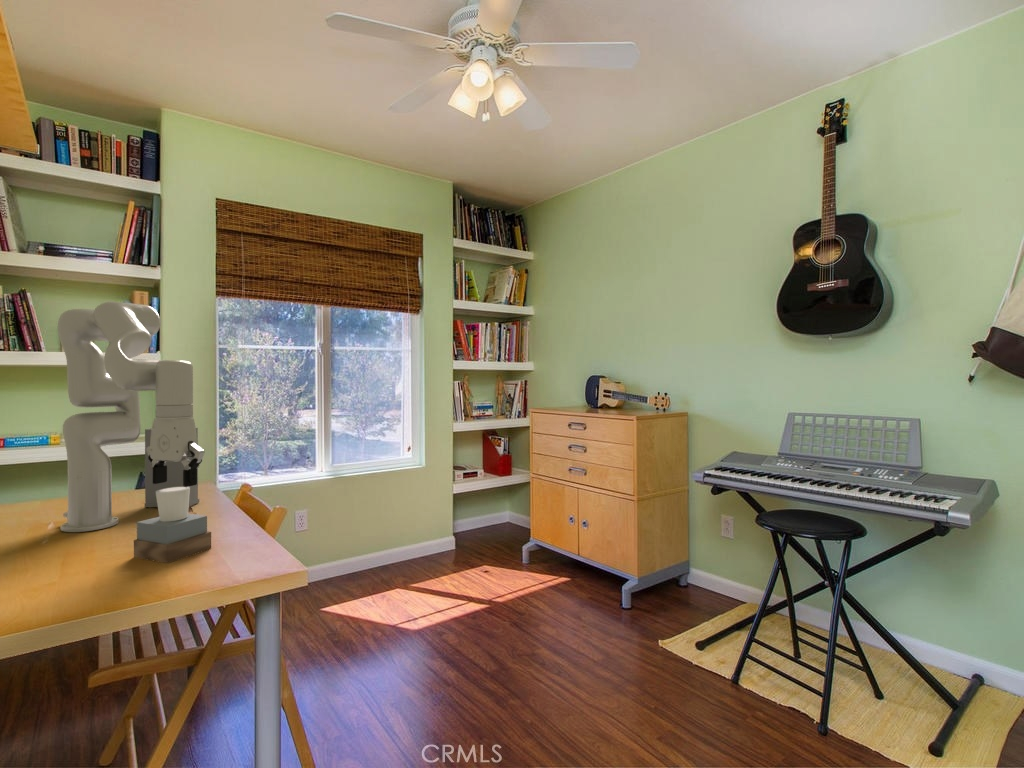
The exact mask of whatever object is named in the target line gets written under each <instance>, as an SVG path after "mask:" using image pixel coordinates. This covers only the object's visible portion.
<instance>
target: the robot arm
mask: <svg viewBox="0 0 1024 768" xmlns="http://www.w3.org/2000/svg"><path fill="white" fill-rule="evenodd" d="M160 328H161V317H160V315H159V313H158V312H157V310H156V309H155V308H154V307H152V306H150V305H147V304H139V303H130V302H121V301H106V302H103V303H100V304H98V305H97V306H95V308H94V309H91V308H71V309H68V310H65V311H64V312H62V313H61V314H60V316H59V317H58V321H57V336H58V339H59V342H60V345H61V347H62V349H63V352H64V355H65V360H66V375H67V377H66V378H67V393H68V399H69V402H70V403H71V405H73V407H74V406H75V407H77V408H85V409H86V408H90V409H91V408H111V407H112V408H115V411H95V412H82V413H81V412H80V413H76V414H73V415H70V416H69V417H67V418H66V419H65V420H64V421H63V425H62V435H63V440H64V444H65V449H66V458H67V463H66V464H67V510H66V512H64V513H63V515H62V516H63V518H67V520H66V522H65V523H63V524H61V525H60V531H61V532H64V533H82V532H92V531H97V530H102V529H106V528H110V527H111V528H112V527H113V526H116V525H118V524H119V523H120V522H119V520H120V519H119V517H117V516H113V501H112V500H113V498H112V497H113V496H112V495H113V490H112V489H113V488H112V486H113V485H112V484H113V483H112V482H113V481H112V480H113V479H112V478H113V474H112V461H111V458H110V457H109V455H108V454H107V453H106V452H105V451H104V450H103V449H102V447H104V446H105V447H106V446H116V445H125V444H130V443H133V442H135V441H137V440H138V439H139V437H140V434H141V427H142V426H141V406H140V405H141V404H140V391H141V392H142V391H155V417H154V418H153V420H152V426H151V428H152V430H151V439H150V446H148V447H147V448H146V451H147V454H148V459H149V460H150V462H151V467H153V484H158V483H163V482H166V481H167V465H165V463H166V462H167V461H170V462H178V461H181V462H182V464H183V465H184V467H185V469H186V470H183V486H184V487H189V486H193V485H197V468H198V469H199V468H200V465H201V463H202V462H203V458H204V455H205V450H204V449H203V448H202V447H201V446H199V445H198V446H197V435H196V428H197V427H196V422H195V418H194V366H193V364H192V363H191V362H190V361H188V360H179V359H178V360H177V359H176V360H171V359H151V358H150V359H142V358H135V357H138V356H140V355H142V354H144V353H145V352H147V350H149V348H150V347H151V344H152V337H153V336H155V335H156V334H157V333H158V332H159V330H160ZM92 341H94V342H95V341H97V342H108V343H109V344H108V346H107V348H106V349H105V352H103V351H102V350H101V349H100V347H98V346H97V345H96V344H95V343H94V342H92ZM188 461H191V462H190V463H189V462H188Z"/></svg>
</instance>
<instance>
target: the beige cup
mask: <svg viewBox="0 0 1024 768" xmlns="http://www.w3.org/2000/svg"><path fill="white" fill-rule="evenodd" d="M189 494H190V487H184V486H178V487H169V488H164V489H160V490H157V491H156V498H157V505H158V507H157V509H158V517H159V518H160V521H163V522H169V521H177V520H181V519H185V518H187V517H188V510H189Z"/></svg>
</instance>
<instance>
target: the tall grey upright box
mask: <svg viewBox="0 0 1024 768" xmlns="http://www.w3.org/2000/svg"><path fill="white" fill-rule="evenodd" d="M151 430H152V427H151V428H146V429H144V455H145V456H144V478H145V479H144V480H145V481H144V482H145V483H144V490H145V491H144V493H145V494H144V495H145V497H144V498H145V499H144V500H145V501H144V502H145V503H144V508H146V507H149V508H158V505H157V498H156V491H157V490H160V489H164V488H169V487H178V486H183V470H186V469H185V467H184V465H183V464H182V462H181V461H178V462H170V461H167V462H166V463H165V465H167V481H166V482H163V483H158V484H153V467H151V462H150V460H149V459H148V454H147V451H146V448H147V447H148V446H150V439H151ZM198 434H199V432H198V427H196V435H197V446H199V444H198V443H199V442H198V441H199V440H198V439H199V438H198V437H199V436H198ZM188 462H189V463H190V462H191V461H188ZM198 473H199V468H197V485H193V486H189V487H190V494H189V505H190V507H192V506H194V505H197V504H200V498H199V479H198V478H199V474H198Z"/></svg>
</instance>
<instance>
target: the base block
mask: <svg viewBox="0 0 1024 768" xmlns="http://www.w3.org/2000/svg"><path fill="white" fill-rule="evenodd" d="M209 548H211V549H212V531H209V530H207V533H203V534H200V535H197V536H193V537H190V538H187V539H183V540H180V541H177V542H174V543H170V544H161V543H155V542H149V541H143V540H138V539H137V538H136V539H134V540H133V558H134V557H136V558H135V559H140V558H141V559H142V560H146V559H148V560H147V561H152V560H154V561H153V562H157V561H159V562H158V563H163V562H165V564H170V563H173V562H176V561H179V560H182V559H185V558H187V557H186V556H188V557H190V555H191V556H194V555H196V554H199V553H202V552H204V550H205V551H207V549H208V550H210V549H209ZM201 551H202V552H201ZM198 552H199V553H198ZM195 553H196V554H195ZM193 554H194V555H193ZM184 557H185V558H184ZM181 558H182V559H181ZM178 559H179V560H178ZM175 560H176V561H175ZM172 561H173V562H172Z"/></svg>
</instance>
